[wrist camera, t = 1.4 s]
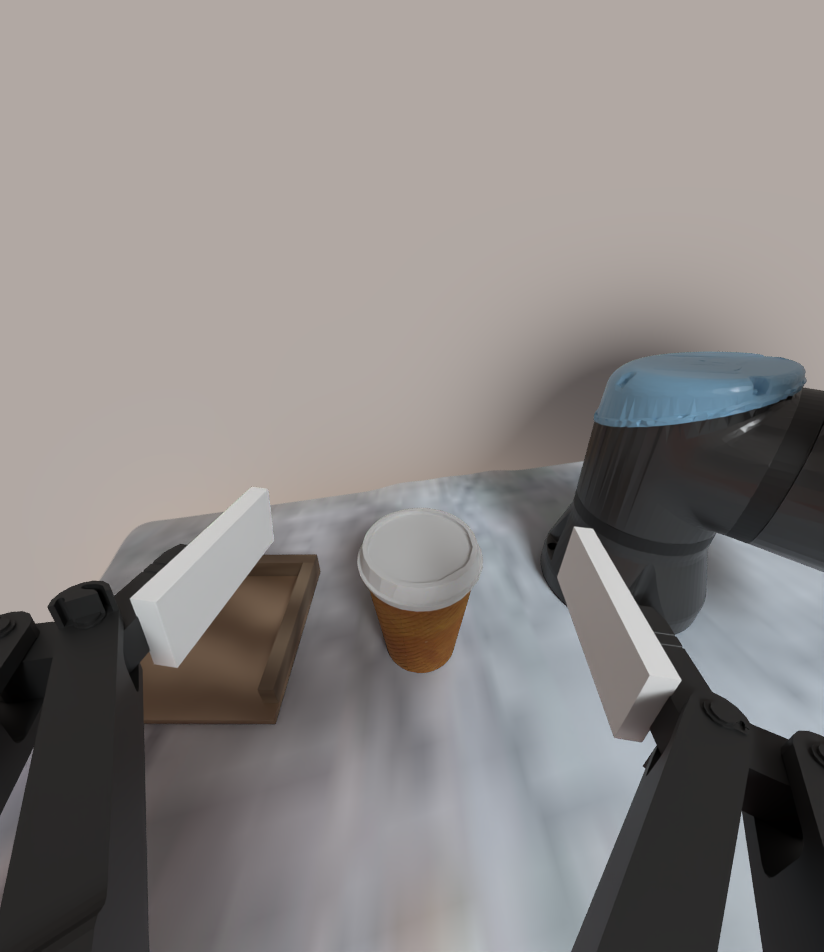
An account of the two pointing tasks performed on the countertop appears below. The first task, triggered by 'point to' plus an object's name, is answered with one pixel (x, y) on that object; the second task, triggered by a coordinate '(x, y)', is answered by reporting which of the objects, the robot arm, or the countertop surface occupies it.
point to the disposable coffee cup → (420, 582)
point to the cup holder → (239, 652)
